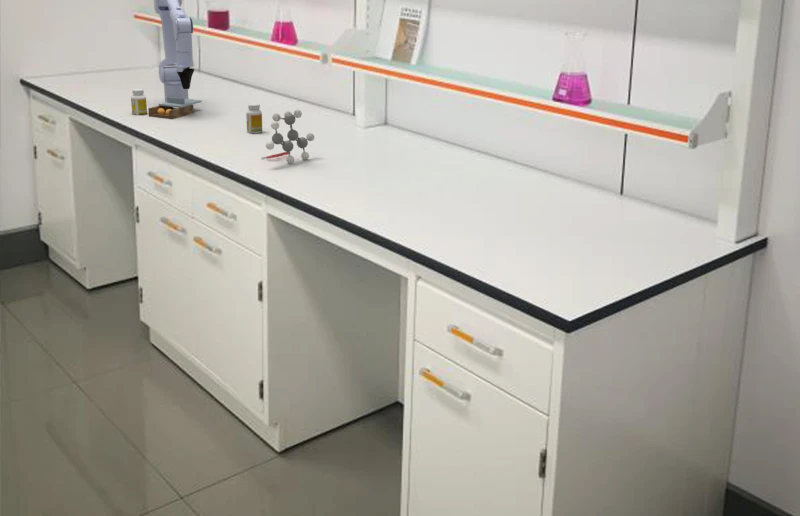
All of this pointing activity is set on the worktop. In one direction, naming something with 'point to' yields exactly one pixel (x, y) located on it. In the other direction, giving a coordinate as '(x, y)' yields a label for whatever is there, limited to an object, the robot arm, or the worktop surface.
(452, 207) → the worktop surface
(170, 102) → the lid
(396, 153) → the worktop surface
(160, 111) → the ball
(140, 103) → the supplement bottle
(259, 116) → the supplement bottle
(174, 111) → the case
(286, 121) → the molecule model
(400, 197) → the worktop surface
